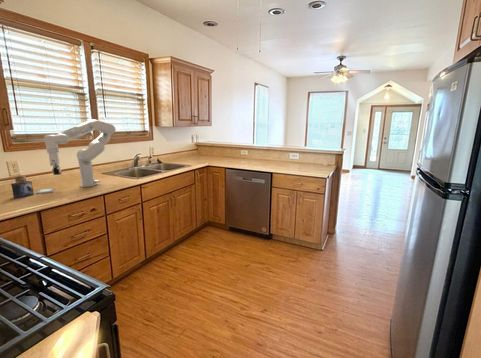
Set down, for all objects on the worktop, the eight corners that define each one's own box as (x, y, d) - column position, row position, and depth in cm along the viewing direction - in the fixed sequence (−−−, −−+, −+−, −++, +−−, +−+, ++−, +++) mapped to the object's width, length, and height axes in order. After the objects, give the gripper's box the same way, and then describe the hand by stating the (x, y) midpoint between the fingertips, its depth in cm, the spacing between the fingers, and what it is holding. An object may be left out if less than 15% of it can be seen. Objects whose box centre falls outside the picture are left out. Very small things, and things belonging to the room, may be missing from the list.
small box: (19, 198, 188) (17, 184, 186) (13, 197, 190) (10, 183, 188) (34, 194, 198) (32, 181, 196) (28, 193, 200) (25, 180, 197)
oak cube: (61, 173, 210) (60, 167, 209) (60, 174, 205) (59, 168, 204) (54, 174, 208) (53, 167, 206) (53, 175, 203) (51, 169, 202)
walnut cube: (26, 181, 195) (25, 175, 194) (24, 182, 190) (23, 176, 189) (18, 182, 193) (16, 175, 192) (15, 183, 188) (14, 176, 187)
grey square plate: (54, 189, 212) (54, 188, 212) (52, 192, 203) (51, 191, 203) (39, 190, 208) (39, 189, 207) (36, 194, 199) (36, 192, 199)
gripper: (49, 149, 208) (53, 172, 212) (44, 152, 193) (49, 176, 197) (60, 149, 211) (64, 171, 215) (56, 151, 196) (61, 175, 201)
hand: (57, 173), depth 206 cm, fingers closed on oak cube, 5 cm apart
